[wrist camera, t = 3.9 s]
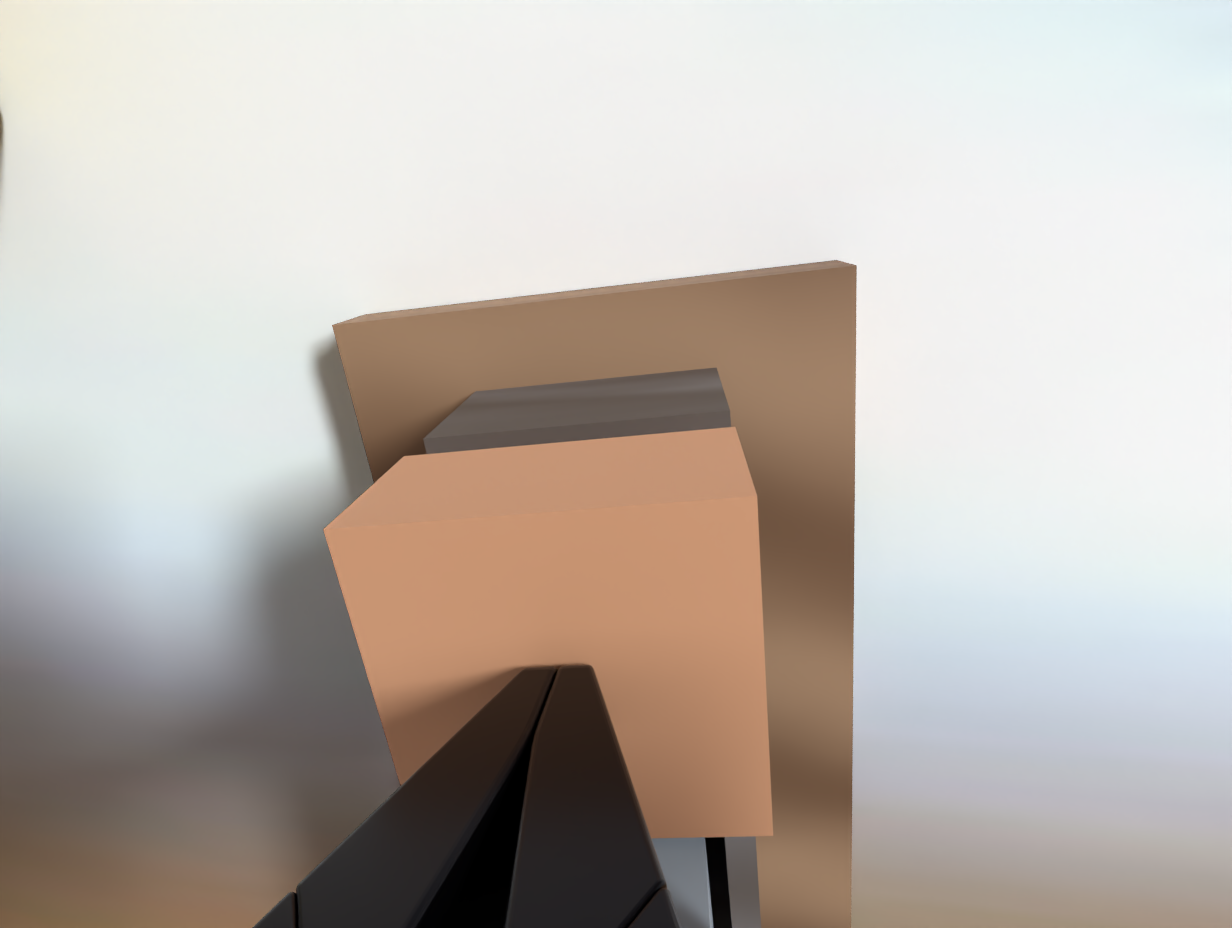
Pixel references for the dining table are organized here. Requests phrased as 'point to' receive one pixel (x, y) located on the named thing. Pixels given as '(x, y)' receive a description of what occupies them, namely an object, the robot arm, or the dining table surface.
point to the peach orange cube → (575, 606)
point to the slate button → (687, 878)
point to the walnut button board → (673, 402)
